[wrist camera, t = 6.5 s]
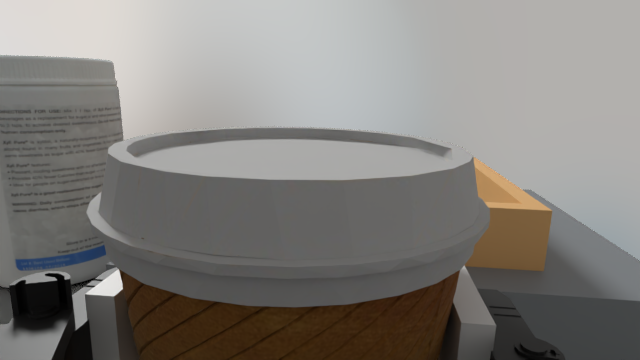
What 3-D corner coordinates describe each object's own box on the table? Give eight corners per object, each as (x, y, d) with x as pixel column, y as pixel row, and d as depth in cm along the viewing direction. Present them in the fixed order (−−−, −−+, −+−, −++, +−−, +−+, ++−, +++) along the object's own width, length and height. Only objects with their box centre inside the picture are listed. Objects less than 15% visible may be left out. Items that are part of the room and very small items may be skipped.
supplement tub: (155, 245, 36) (144, 62, 33) (82, 300, 27) (57, 54, 24) (47, 238, 37) (26, 60, 34) (-59, 289, 28) (-102, 51, 25)
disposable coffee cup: (447, 851, 8) (535, 215, 5) (34, 653, 10) (-44, 159, 8) (449, 444, 17) (481, 134, 14) (226, 392, 19) (219, 120, 17)
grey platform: (38, 352, 22) (18, 198, 20) (193, 226, 41) (190, 141, 40) (683, 411, 19) (725, 236, 17) (523, 245, 38) (535, 155, 37)
